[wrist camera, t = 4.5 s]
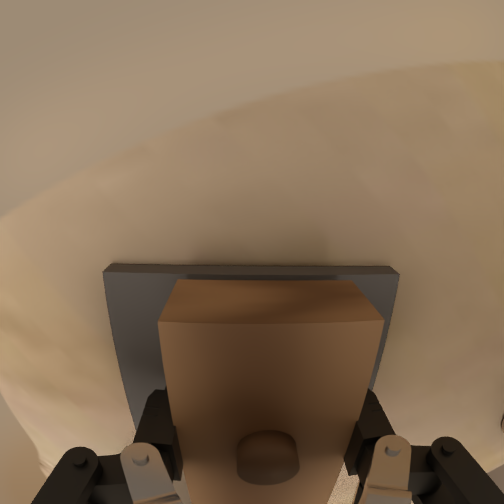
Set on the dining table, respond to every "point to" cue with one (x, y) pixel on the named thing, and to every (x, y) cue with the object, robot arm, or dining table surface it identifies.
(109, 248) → the dining table surface
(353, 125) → the dining table surface
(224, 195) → the dining table surface
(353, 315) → the lid
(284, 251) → the dining table surface
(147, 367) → the mat
